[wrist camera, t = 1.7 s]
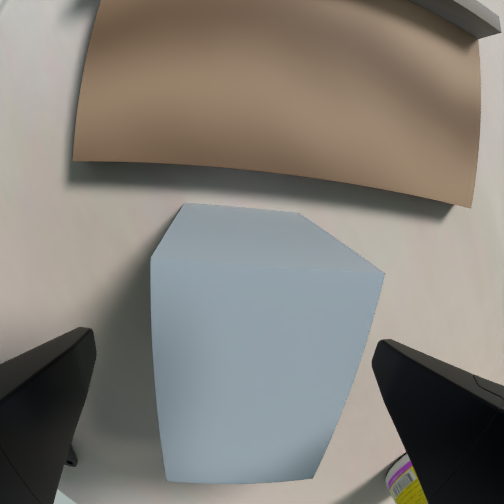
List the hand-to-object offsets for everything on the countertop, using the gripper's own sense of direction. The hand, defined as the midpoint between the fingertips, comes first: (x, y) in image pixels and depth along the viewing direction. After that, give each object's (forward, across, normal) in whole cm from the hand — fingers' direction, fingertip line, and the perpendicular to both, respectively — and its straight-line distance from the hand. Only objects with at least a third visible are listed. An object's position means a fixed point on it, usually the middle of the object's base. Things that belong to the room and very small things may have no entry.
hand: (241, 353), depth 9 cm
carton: (+4, 0, 0) cm, 5 cm away
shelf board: (+4, -2, -10) cm, 11 cm away
